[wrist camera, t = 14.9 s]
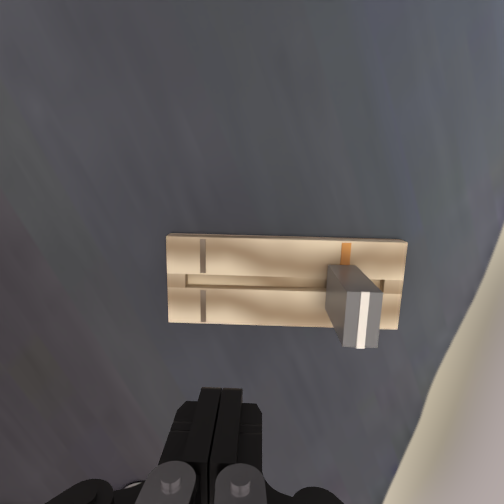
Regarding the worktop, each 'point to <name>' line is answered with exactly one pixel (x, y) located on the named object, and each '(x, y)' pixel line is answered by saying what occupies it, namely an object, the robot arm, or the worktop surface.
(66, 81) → the worktop surface
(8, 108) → the worktop surface
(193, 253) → the fader board
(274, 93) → the worktop surface
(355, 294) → the fader knob
